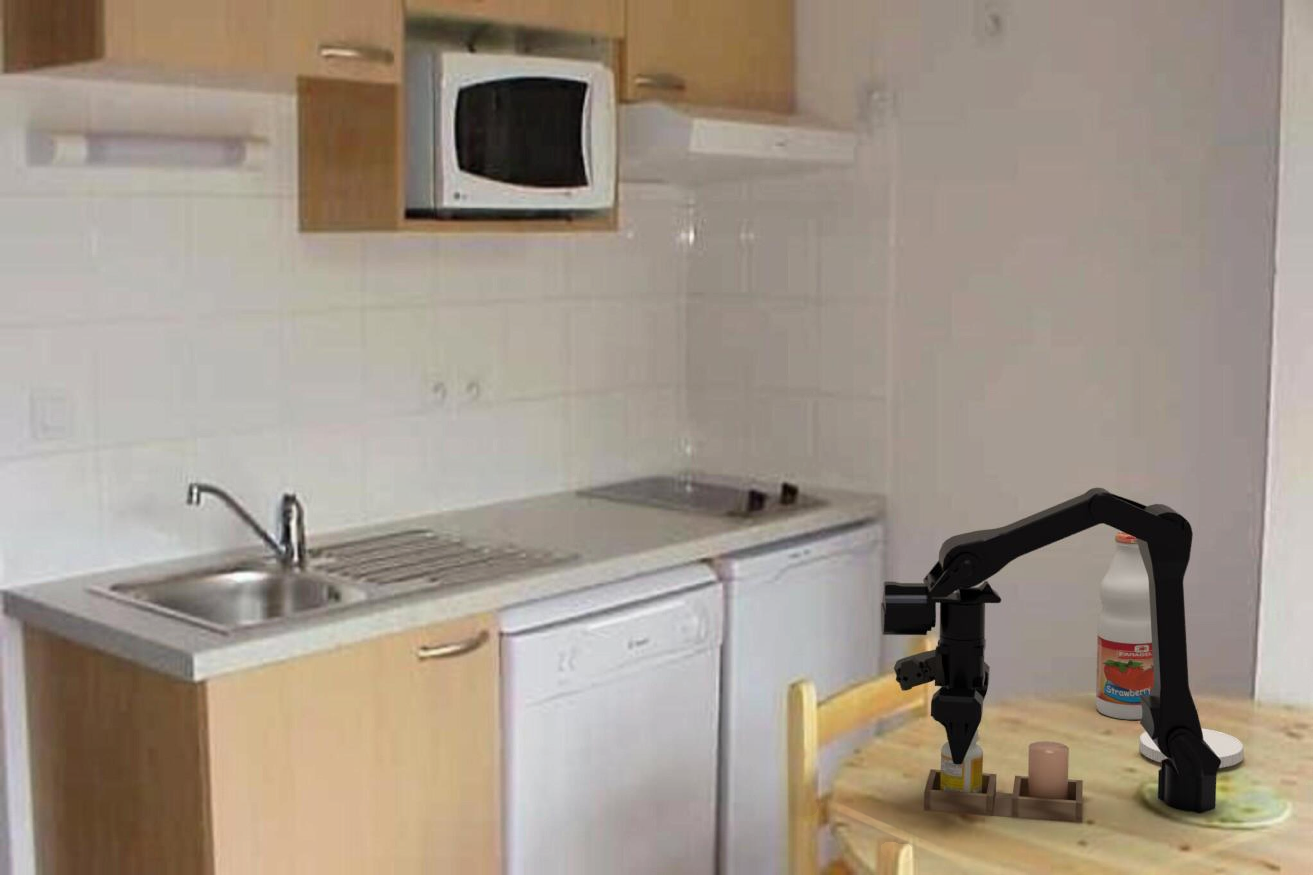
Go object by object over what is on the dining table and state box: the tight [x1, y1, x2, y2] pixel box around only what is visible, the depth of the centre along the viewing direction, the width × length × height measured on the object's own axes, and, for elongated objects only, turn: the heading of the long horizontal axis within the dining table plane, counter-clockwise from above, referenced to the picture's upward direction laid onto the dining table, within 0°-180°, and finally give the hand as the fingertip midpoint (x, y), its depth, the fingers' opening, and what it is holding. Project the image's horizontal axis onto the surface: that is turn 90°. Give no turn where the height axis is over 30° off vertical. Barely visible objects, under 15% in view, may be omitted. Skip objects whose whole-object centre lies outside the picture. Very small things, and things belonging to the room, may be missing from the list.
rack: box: [923, 768, 1084, 824], centre depth 210 cm, size 20×9×4 cm, turn 75°
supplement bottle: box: [940, 729, 984, 794], centre depth 211 cm, size 5×5×10 cm
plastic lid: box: [1138, 727, 1245, 769], centre depth 231 cm, size 14×14×2 cm
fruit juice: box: [1095, 531, 1154, 721], centre depth 250 cm, size 9×9×28 cm
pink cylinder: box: [1027, 740, 1070, 800], centre depth 209 cm, size 5×5×8 cm
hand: (960, 752), depth 211 cm, fingers open, 9 cm apart
